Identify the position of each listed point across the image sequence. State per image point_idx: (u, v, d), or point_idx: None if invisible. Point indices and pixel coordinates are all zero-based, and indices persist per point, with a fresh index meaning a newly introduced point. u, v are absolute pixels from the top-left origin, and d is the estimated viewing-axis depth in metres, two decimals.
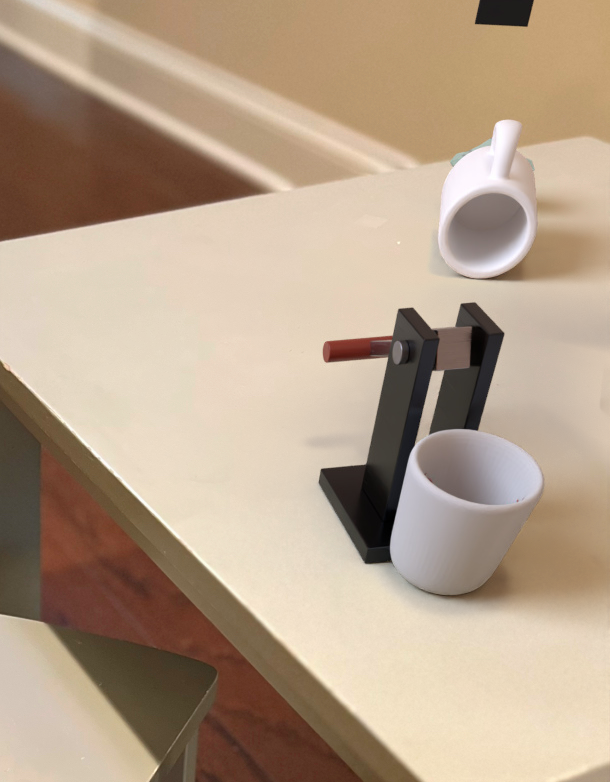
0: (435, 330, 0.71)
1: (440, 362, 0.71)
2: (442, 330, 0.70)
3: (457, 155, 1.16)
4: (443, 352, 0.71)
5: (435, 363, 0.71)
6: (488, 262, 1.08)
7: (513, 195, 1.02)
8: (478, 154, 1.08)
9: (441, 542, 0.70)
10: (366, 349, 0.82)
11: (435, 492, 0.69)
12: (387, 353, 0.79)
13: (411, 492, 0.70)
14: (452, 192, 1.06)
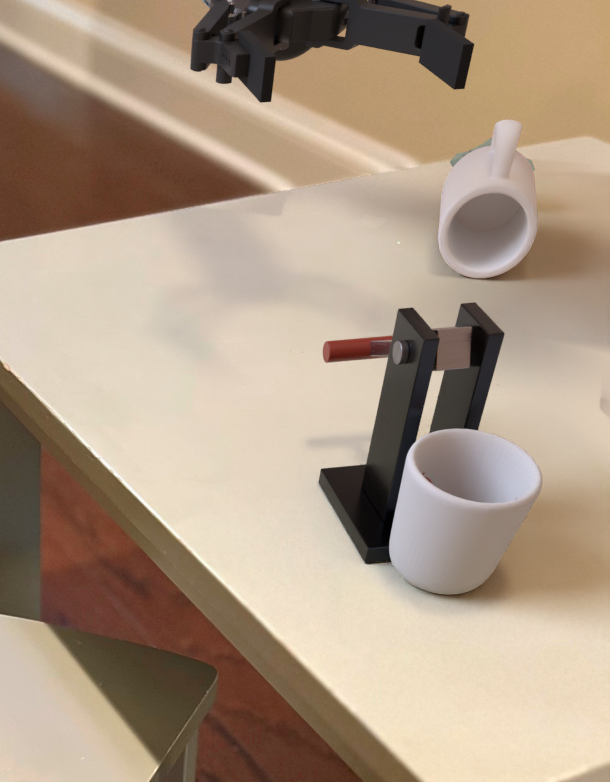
0: (435, 330, 0.71)
1: (440, 362, 0.71)
2: (442, 330, 0.70)
3: (457, 155, 1.16)
4: (443, 352, 0.71)
5: (435, 363, 0.71)
6: (488, 262, 1.08)
7: (513, 195, 1.02)
8: (478, 154, 1.08)
9: (438, 540, 0.70)
10: (366, 349, 0.82)
11: (431, 490, 0.69)
12: (387, 353, 0.79)
13: (408, 491, 0.71)
14: (452, 192, 1.06)
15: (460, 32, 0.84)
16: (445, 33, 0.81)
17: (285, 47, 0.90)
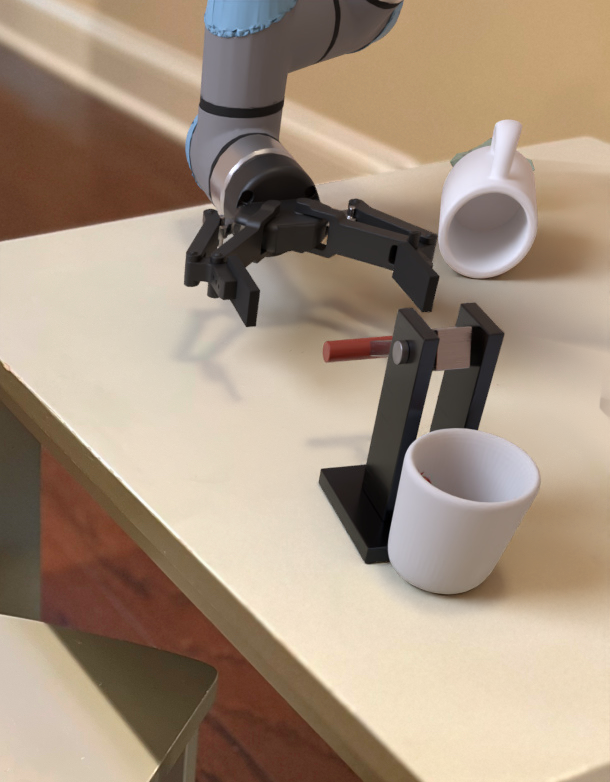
0: (435, 330, 0.71)
1: (440, 362, 0.71)
2: (442, 330, 0.70)
3: (457, 155, 1.16)
4: (443, 352, 0.71)
5: (435, 363, 0.71)
6: (488, 262, 1.08)
7: (513, 195, 1.02)
8: (478, 154, 1.08)
9: (435, 540, 0.71)
10: (366, 349, 0.82)
11: (428, 489, 0.69)
12: (387, 353, 0.79)
13: (406, 490, 0.71)
14: (452, 192, 1.06)
15: (429, 251, 0.93)
16: (414, 261, 0.89)
17: (271, 253, 0.98)
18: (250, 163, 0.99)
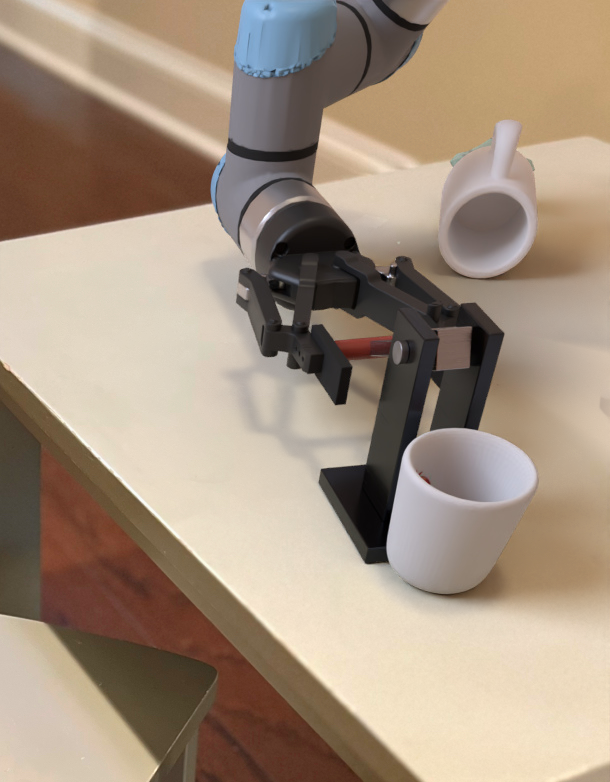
0: (435, 330, 0.71)
1: (440, 362, 0.71)
2: (442, 330, 0.70)
3: (457, 155, 1.16)
4: (443, 352, 0.71)
5: (435, 363, 0.71)
6: (488, 262, 1.08)
7: (513, 195, 1.02)
8: (478, 154, 1.08)
9: (432, 539, 0.71)
10: (366, 349, 0.82)
11: (425, 488, 0.69)
12: (387, 353, 0.79)
13: (403, 489, 0.71)
14: (452, 192, 1.06)
15: None
16: None
17: None
18: (284, 212, 0.92)
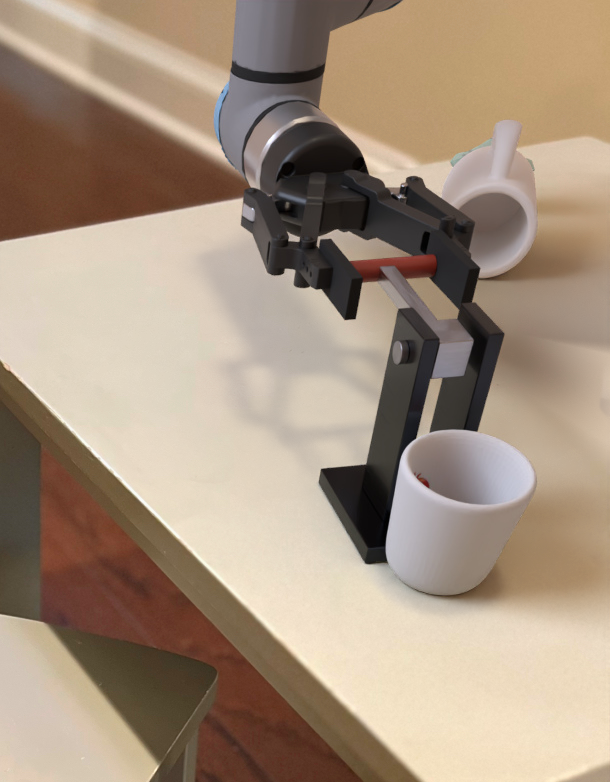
0: None
1: (436, 371, 0.72)
2: (444, 343, 0.70)
3: (457, 155, 1.16)
4: (441, 363, 0.71)
5: None
6: (488, 262, 1.08)
7: (513, 195, 1.02)
8: (478, 154, 1.08)
9: (430, 541, 0.71)
10: (374, 275, 0.79)
11: (422, 491, 0.69)
12: (392, 298, 0.77)
13: (401, 491, 0.71)
14: (452, 192, 1.06)
15: None
16: (450, 251, 0.77)
17: None
18: (291, 132, 0.89)
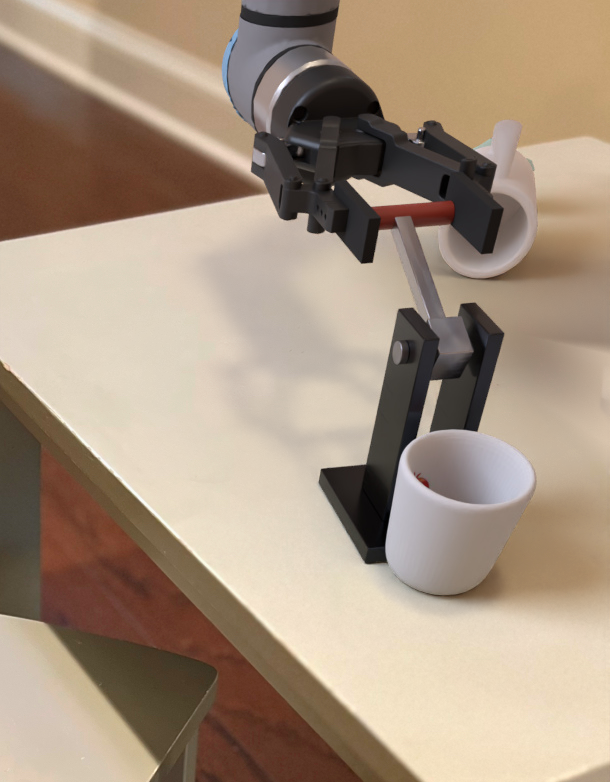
0: (438, 351, 0.71)
1: (432, 375, 0.72)
2: (444, 354, 0.71)
3: None
4: (438, 369, 0.72)
5: None
6: (488, 262, 1.08)
7: (513, 195, 1.02)
8: None
9: (430, 541, 0.71)
10: (388, 226, 0.76)
11: (422, 490, 0.69)
12: (403, 262, 0.75)
13: (401, 491, 0.71)
14: None
15: None
16: (471, 192, 0.74)
17: None
18: (303, 76, 0.85)
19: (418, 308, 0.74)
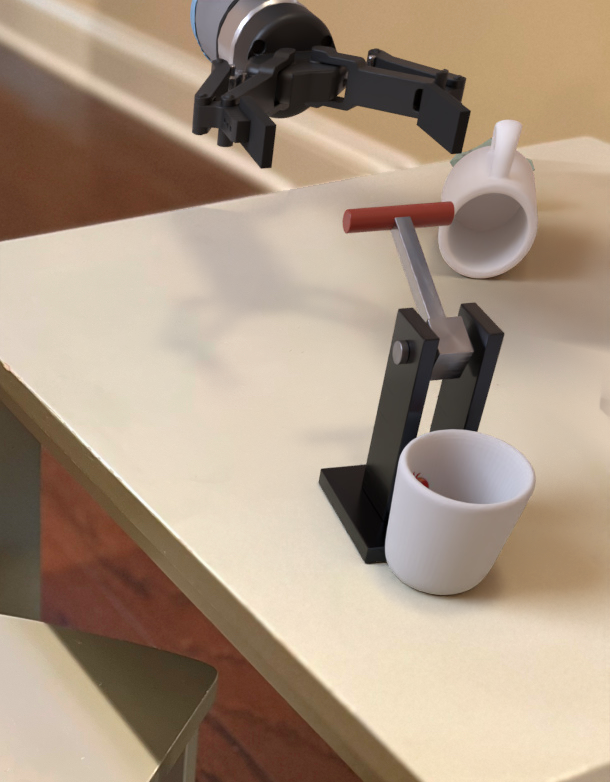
0: (438, 351, 0.71)
1: (433, 375, 0.72)
2: (444, 354, 0.71)
3: (457, 155, 1.16)
4: (438, 369, 0.72)
5: None
6: (488, 262, 1.08)
7: (513, 195, 1.02)
8: (478, 154, 1.08)
9: (429, 541, 0.71)
10: (388, 226, 0.76)
11: (421, 490, 0.69)
12: (403, 263, 0.75)
13: (400, 491, 0.71)
14: (452, 192, 1.06)
15: (457, 95, 0.86)
16: (442, 99, 0.82)
17: (285, 108, 0.91)
18: (262, 12, 0.92)
19: (418, 308, 0.74)
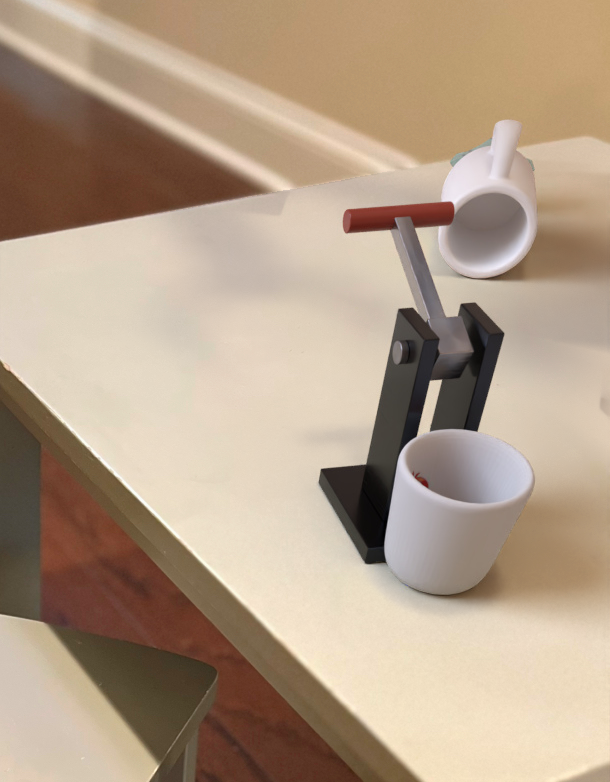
0: (438, 351, 0.71)
1: (433, 375, 0.72)
2: (444, 354, 0.71)
3: (457, 155, 1.16)
4: (438, 369, 0.72)
5: None
6: (488, 262, 1.08)
7: (513, 195, 1.02)
8: (478, 154, 1.08)
9: (427, 540, 0.71)
10: (388, 226, 0.76)
11: (419, 489, 0.69)
12: (403, 263, 0.75)
13: (399, 490, 0.71)
14: (452, 192, 1.06)
15: None
16: None
17: None
18: None
19: (418, 308, 0.74)
